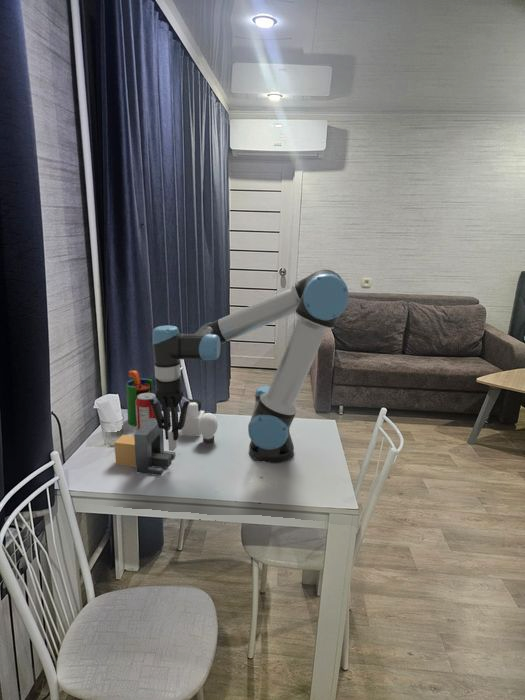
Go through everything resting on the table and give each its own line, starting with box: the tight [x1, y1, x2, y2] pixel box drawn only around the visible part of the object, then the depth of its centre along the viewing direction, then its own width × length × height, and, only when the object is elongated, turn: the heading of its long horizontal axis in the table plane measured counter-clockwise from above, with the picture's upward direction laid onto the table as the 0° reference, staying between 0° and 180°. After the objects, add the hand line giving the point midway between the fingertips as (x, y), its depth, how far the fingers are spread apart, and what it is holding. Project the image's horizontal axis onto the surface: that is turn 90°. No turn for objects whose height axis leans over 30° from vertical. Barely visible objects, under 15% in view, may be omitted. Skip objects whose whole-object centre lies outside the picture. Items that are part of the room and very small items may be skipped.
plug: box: [113, 434, 172, 469], centre depth 141 cm, size 17×6×8 cm, turn 80°
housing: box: [133, 418, 177, 476], centre depth 139 cm, size 8×12×13 cm, turn 169°
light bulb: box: [198, 412, 219, 445], centre depth 155 cm, size 7×7×11 cm
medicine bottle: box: [180, 398, 206, 437], centre depth 162 cm, size 7×7×12 cm
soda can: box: [135, 393, 156, 432], centre depth 159 cm, size 8×8×15 cm
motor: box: [125, 369, 154, 427], centre depth 169 cm, size 10×9×20 cm
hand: (172, 448), depth 138 cm, fingers closed
